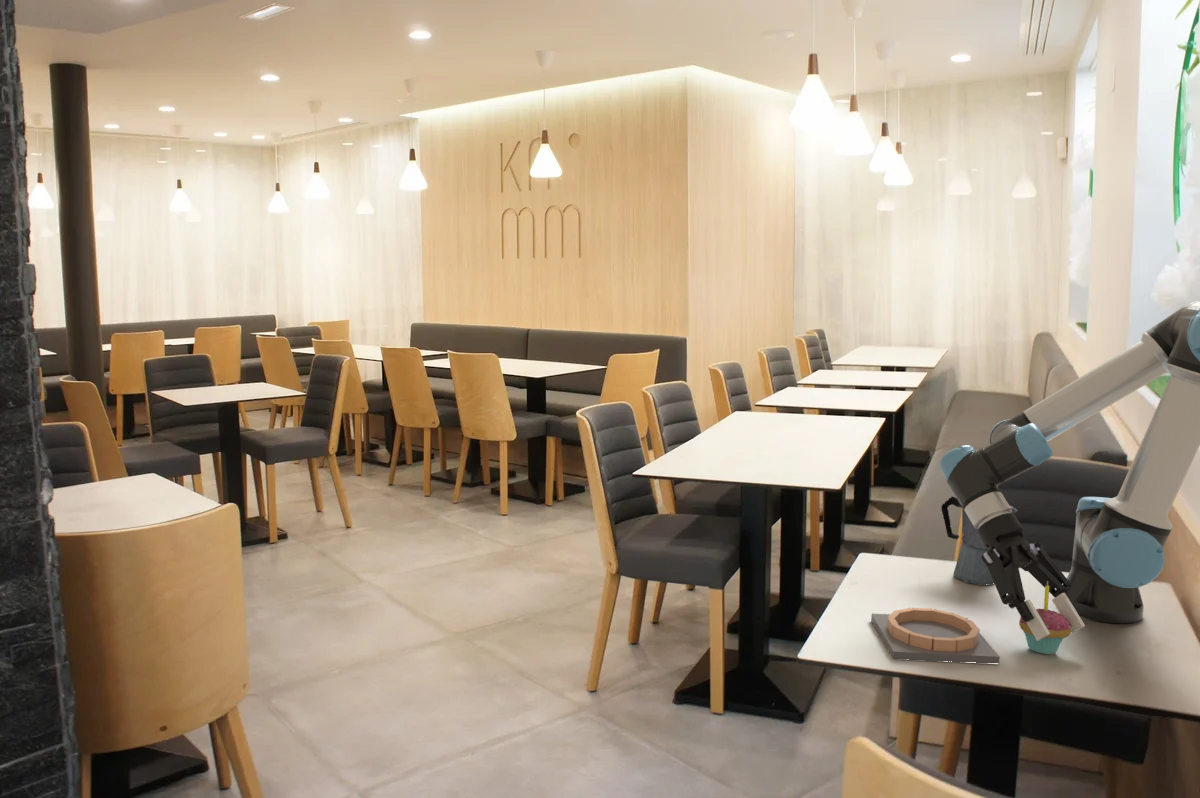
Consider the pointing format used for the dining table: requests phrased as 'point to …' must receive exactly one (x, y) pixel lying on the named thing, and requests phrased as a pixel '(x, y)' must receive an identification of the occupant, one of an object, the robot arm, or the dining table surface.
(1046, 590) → the cupcake
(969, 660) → the ring dish
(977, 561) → the moka pot
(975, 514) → the robot arm
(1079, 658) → the dining table surface
